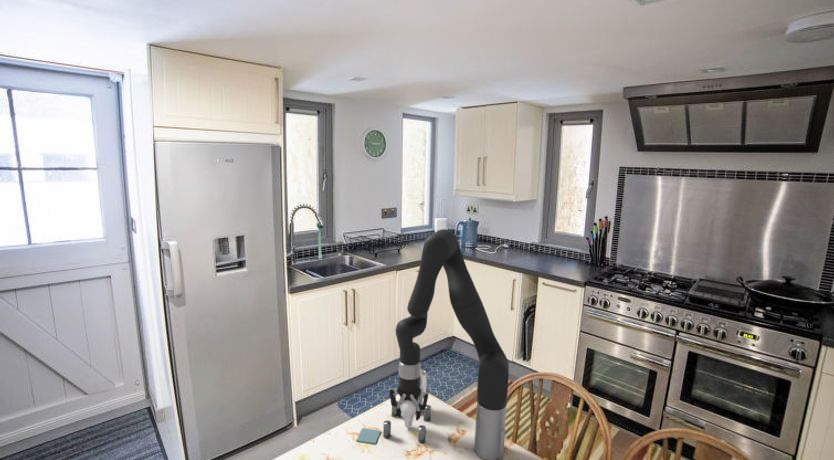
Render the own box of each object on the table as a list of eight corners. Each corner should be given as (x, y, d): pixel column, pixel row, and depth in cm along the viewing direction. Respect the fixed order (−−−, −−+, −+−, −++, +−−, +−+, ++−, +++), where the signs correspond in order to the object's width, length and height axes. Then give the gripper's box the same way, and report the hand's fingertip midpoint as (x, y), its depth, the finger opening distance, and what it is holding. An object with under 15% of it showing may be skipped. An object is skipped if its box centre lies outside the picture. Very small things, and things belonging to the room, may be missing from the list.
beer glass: (404, 406, 155) (405, 370, 152) (420, 402, 158) (421, 366, 155) (411, 417, 148) (412, 379, 146) (428, 412, 151) (429, 375, 149)
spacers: (431, 418, 148) (431, 405, 147) (424, 444, 134) (425, 430, 133) (392, 412, 151) (392, 400, 150) (382, 438, 137) (382, 424, 136)
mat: (380, 431, 140) (380, 430, 140) (375, 444, 133) (375, 443, 133) (362, 429, 141) (362, 428, 141) (356, 441, 134) (356, 440, 134)
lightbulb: (396, 429, 141) (396, 399, 139) (405, 419, 146) (405, 391, 145) (411, 434, 138) (412, 405, 137) (420, 424, 144) (420, 396, 142)
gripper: (431, 370, 142) (430, 414, 144) (391, 365, 144) (391, 409, 147) (428, 381, 134) (427, 427, 137) (386, 376, 137) (385, 421, 139)
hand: (408, 417), depth 142 cm, fingers closed on lightbulb, 5 cm apart
